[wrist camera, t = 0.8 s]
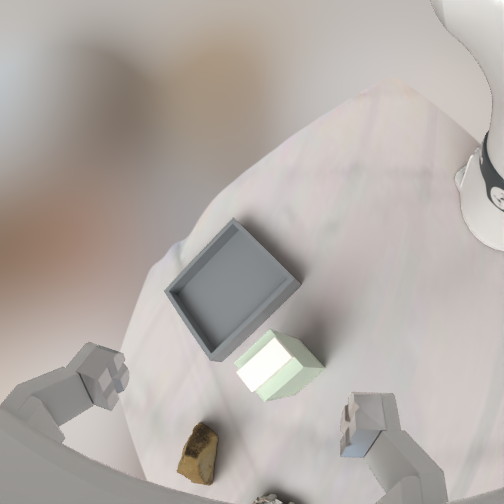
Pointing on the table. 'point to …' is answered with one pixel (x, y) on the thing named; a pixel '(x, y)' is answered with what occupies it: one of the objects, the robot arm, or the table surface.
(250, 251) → the tray
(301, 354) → the juice carton
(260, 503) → the grey carved figurine
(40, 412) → the robot arm
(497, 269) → the table surface
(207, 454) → the rock
